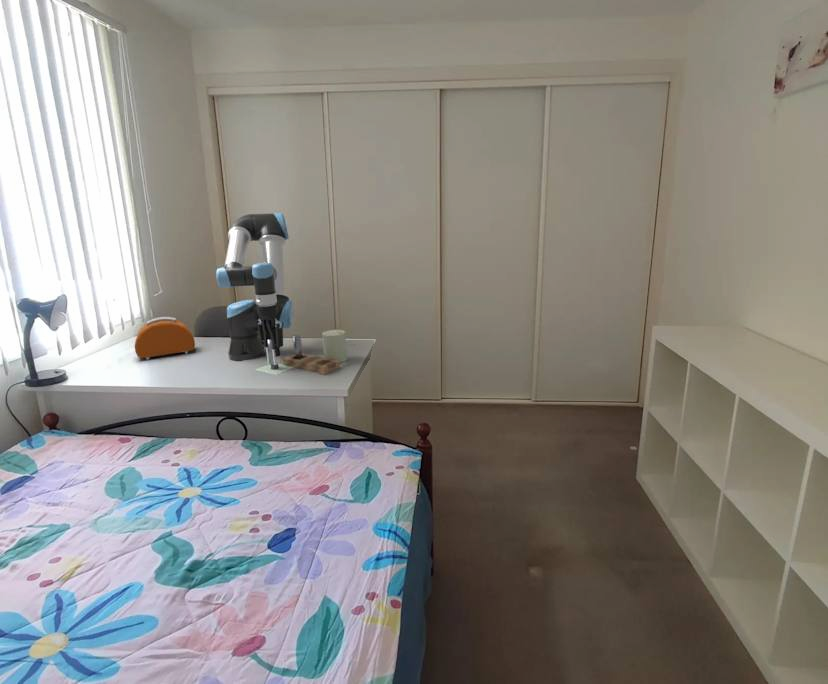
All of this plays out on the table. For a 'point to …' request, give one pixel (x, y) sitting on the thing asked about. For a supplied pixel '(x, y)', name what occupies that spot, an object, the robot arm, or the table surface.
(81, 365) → the table surface
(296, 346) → the pin
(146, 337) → the alarm clock
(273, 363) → the pin
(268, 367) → the mat
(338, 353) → the can
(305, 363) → the socket block
